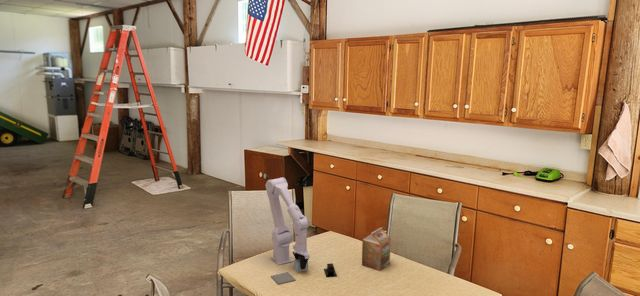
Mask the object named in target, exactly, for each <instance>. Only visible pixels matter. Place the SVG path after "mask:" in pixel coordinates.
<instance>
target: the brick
mask: <svg viewBox="0 0 640 296" xmlns="http://www.w3.org/2000/svg"><path fill="white" fill-rule="evenodd" d="M293 270H294V271H295V272H296V273H301V272H306V271H308V270H309V260H308V261H307V264H306V267H305V269H301V267H300V261H299V259H297V260H295V259H293Z"/></svg>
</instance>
